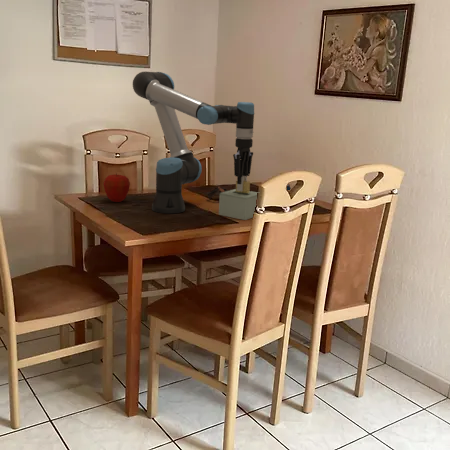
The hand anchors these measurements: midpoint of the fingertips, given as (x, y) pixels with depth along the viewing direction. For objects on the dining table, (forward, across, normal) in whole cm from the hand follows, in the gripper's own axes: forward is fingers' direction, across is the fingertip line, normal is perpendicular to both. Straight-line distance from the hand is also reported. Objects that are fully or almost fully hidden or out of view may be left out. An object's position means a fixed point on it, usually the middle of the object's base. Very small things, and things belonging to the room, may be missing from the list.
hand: (241, 190), depth 239 cm
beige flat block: (+1, 0, -1) cm, 1 cm away
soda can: (+12, +24, -9) cm, 28 cm away
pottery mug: (+11, +17, +24) cm, 32 cm away
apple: (+11, -21, +57) cm, 62 cm away
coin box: (+11, 0, 0) cm, 11 cm away
